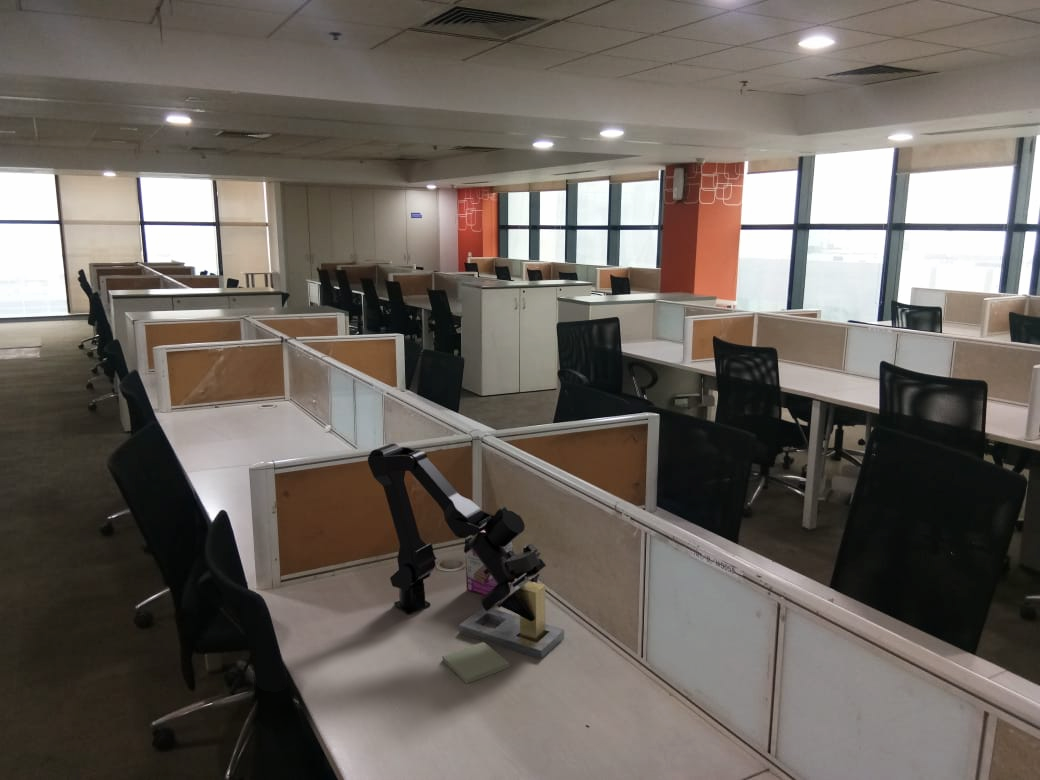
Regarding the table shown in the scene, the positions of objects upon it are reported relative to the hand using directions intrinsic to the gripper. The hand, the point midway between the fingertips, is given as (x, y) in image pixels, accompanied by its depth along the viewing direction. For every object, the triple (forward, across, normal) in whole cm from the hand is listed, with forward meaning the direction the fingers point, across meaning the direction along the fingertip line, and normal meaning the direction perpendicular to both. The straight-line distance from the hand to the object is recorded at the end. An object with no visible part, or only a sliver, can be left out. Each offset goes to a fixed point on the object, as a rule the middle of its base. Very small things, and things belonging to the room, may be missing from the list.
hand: (538, 615), depth 165 cm
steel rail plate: (0, 0, +9) cm, 9 cm away
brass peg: (+4, 0, +6) cm, 7 cm away
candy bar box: (-11, +15, +21) cm, 28 cm away
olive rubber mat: (0, -13, +10) cm, 17 cm away
